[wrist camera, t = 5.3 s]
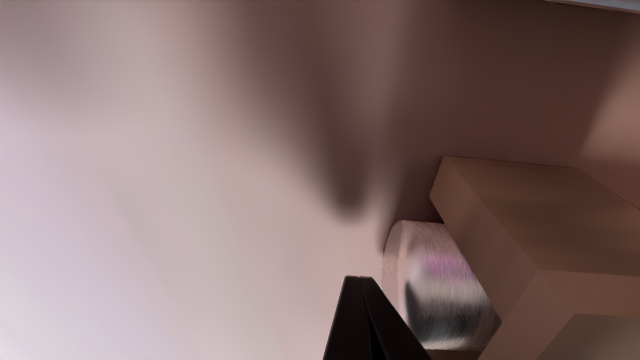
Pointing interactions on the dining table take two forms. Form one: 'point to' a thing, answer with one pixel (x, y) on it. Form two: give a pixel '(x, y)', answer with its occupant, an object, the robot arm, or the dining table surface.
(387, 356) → the robot arm
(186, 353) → the dining table surface
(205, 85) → the dining table surface
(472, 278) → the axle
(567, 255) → the brown boxy piece
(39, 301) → the dining table surface
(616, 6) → the cradle
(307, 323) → the dining table surface
